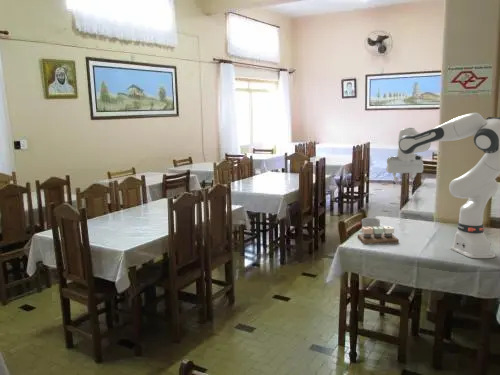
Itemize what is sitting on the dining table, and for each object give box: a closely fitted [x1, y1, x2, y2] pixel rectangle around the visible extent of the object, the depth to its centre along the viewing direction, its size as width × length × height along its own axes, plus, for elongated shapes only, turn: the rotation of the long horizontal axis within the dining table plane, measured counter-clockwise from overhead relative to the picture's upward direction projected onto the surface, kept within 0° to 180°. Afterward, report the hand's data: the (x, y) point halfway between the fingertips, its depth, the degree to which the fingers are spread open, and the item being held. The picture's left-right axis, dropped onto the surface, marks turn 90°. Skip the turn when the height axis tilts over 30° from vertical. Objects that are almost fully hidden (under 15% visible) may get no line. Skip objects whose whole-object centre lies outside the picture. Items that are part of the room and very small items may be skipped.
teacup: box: [361, 217, 381, 228], centre depth 269 cm, size 14×11×8 cm
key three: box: [361, 226, 374, 237], centre depth 251 cm, size 5×5×5 cm
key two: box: [372, 225, 384, 237], centre depth 252 cm, size 5×5×5 cm
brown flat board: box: [357, 233, 400, 245], centre depth 252 cm, size 12×20×2 cm, turn 91°
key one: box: [382, 225, 395, 237], centre depth 252 cm, size 5×5×5 cm
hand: (404, 180), depth 252 cm, fingers open, 8 cm apart
